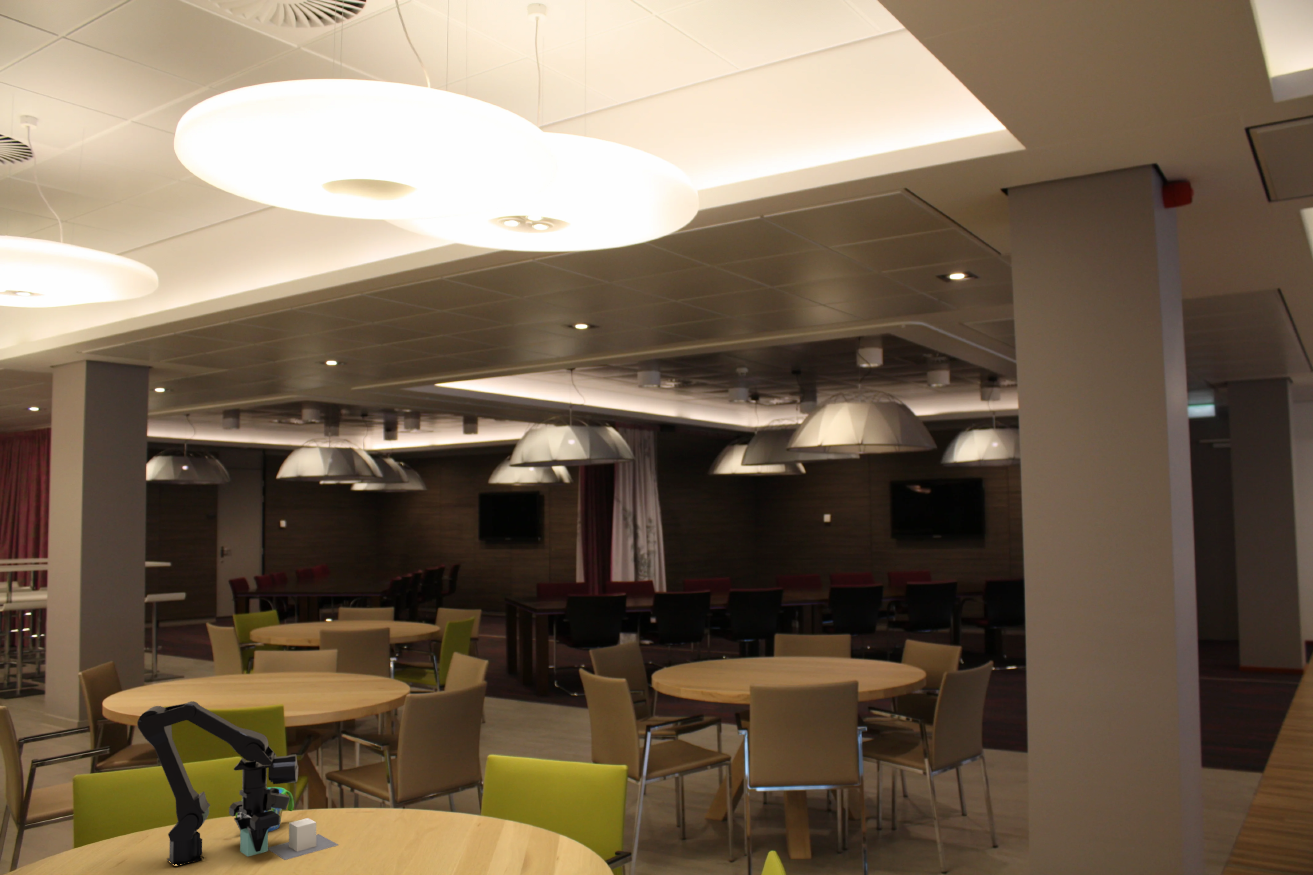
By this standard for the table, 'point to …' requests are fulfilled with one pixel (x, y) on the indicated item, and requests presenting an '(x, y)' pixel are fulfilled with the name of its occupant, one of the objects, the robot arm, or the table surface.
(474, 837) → the table surface
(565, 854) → the table surface
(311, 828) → the white block
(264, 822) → the robot arm
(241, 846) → the teal block
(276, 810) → the snack cup
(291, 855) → the mat
